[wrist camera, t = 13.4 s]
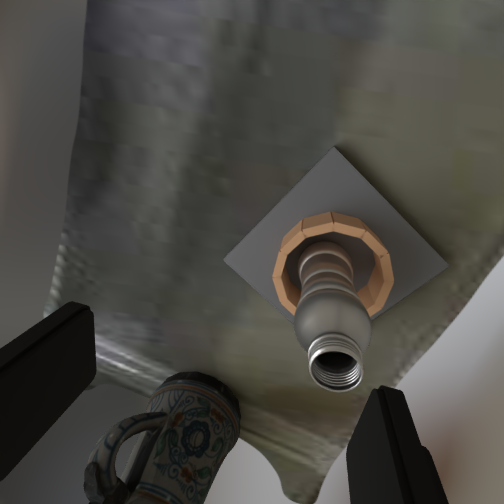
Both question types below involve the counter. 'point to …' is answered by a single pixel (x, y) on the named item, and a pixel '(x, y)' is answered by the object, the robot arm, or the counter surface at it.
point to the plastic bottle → (331, 318)
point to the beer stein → (168, 445)
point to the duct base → (335, 240)
